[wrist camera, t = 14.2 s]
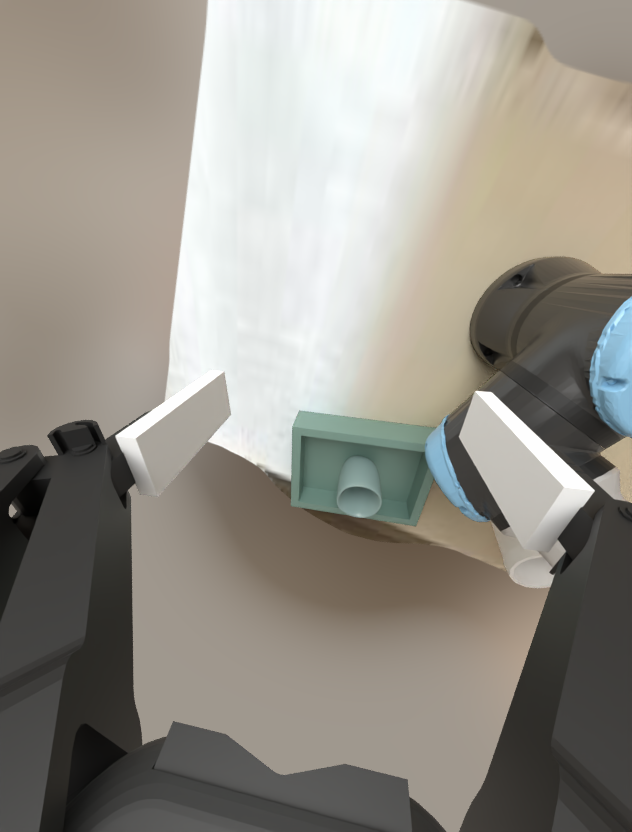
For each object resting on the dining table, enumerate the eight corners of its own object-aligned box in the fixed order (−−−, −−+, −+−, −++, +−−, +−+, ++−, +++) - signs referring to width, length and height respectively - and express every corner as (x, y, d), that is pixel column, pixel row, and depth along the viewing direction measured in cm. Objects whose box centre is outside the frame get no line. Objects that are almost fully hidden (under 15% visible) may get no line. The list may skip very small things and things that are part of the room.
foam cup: (541, 506, 54) (589, 568, 42) (508, 531, 58) (543, 594, 47) (500, 488, 53) (538, 547, 42) (470, 515, 58) (497, 575, 47)
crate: (437, 428, 49) (446, 447, 43) (411, 503, 59) (415, 526, 53) (299, 410, 51) (292, 426, 46) (296, 485, 61) (291, 505, 56)
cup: (335, 473, 56) (330, 510, 47) (346, 444, 52) (343, 480, 43) (370, 483, 56) (372, 523, 47) (384, 455, 52) (389, 493, 43)
